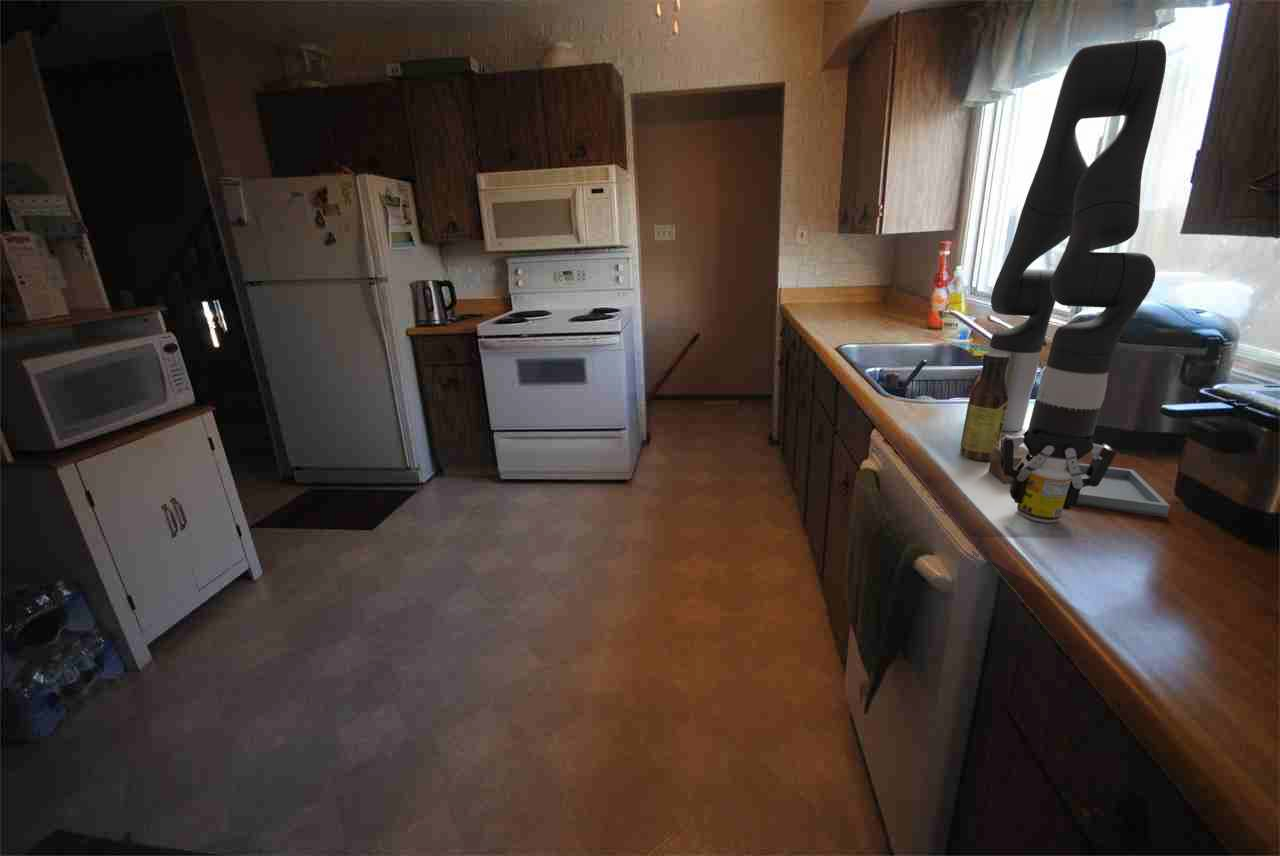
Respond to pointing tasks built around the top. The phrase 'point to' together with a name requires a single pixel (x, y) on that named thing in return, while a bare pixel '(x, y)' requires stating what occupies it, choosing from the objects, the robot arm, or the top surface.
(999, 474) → the walnut block
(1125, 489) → the tray
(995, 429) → the sauce bottle
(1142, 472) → the top surface
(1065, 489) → the supplement bottle
